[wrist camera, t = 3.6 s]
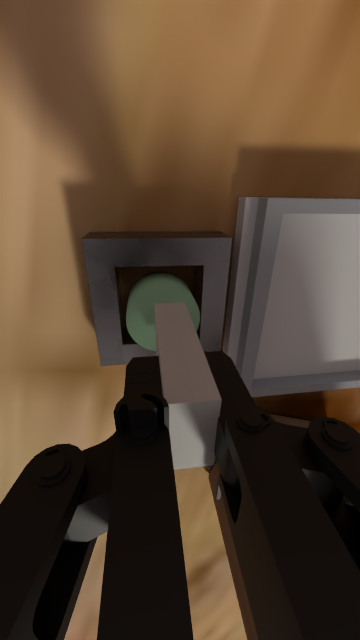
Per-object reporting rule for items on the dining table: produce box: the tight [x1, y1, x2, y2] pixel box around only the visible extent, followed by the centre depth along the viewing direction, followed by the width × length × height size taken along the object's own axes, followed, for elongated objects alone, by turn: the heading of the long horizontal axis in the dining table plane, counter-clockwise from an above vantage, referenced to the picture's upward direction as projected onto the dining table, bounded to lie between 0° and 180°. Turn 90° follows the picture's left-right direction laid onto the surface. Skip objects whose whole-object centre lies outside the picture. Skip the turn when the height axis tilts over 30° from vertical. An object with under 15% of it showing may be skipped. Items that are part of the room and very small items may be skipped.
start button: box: [126, 272, 200, 351], centre depth 15 cm, size 4×4×2 cm
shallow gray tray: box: [223, 197, 360, 397], centre depth 19 cm, size 16×14×2 cm
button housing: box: [82, 232, 232, 366], centre depth 17 cm, size 8×8×2 cm
